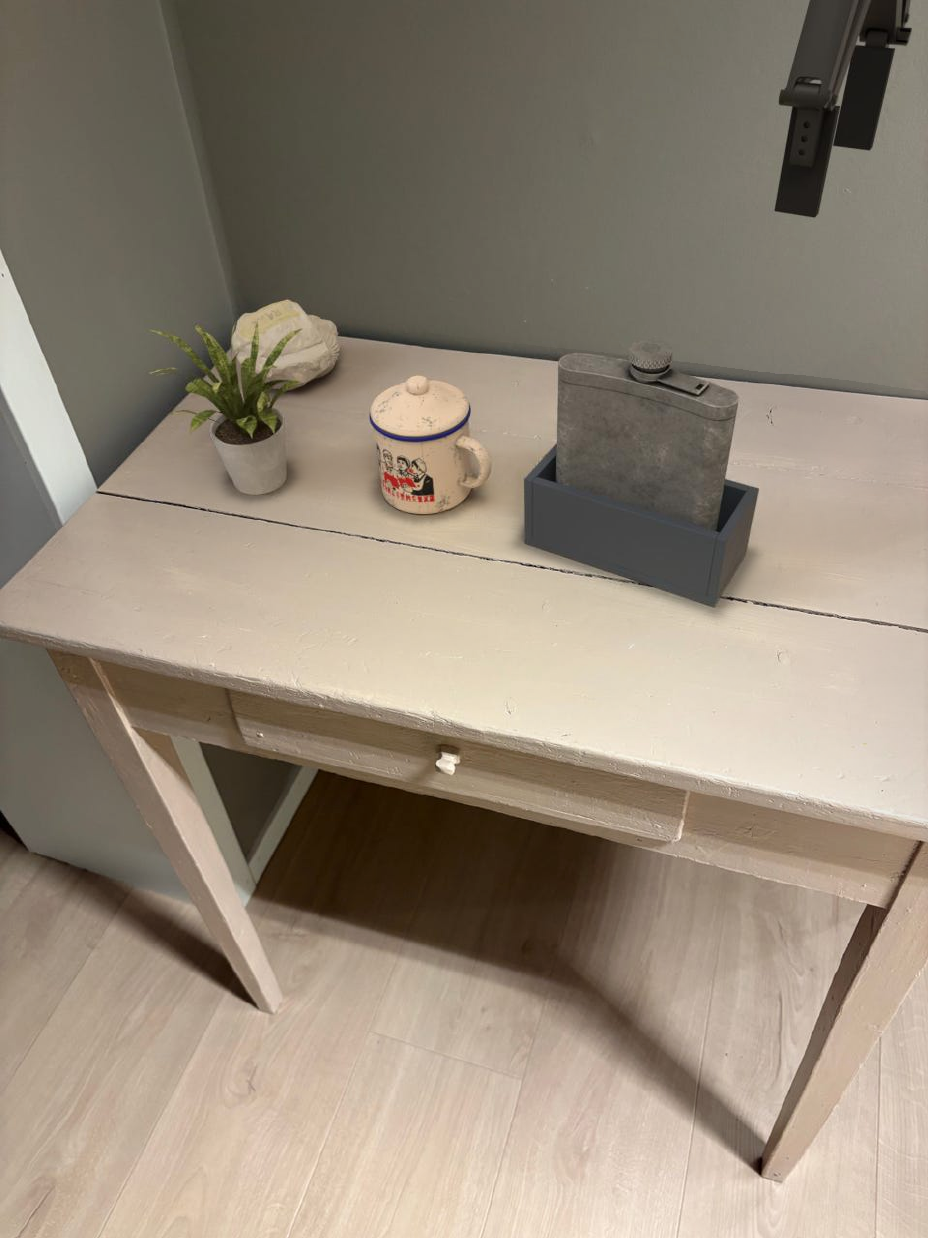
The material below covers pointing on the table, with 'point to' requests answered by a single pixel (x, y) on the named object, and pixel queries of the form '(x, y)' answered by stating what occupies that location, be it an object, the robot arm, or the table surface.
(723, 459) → the flask
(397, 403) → the teacup with lid
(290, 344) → the fossil replica
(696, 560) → the holder
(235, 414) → the house plant
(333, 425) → the table surface
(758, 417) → the table surface
